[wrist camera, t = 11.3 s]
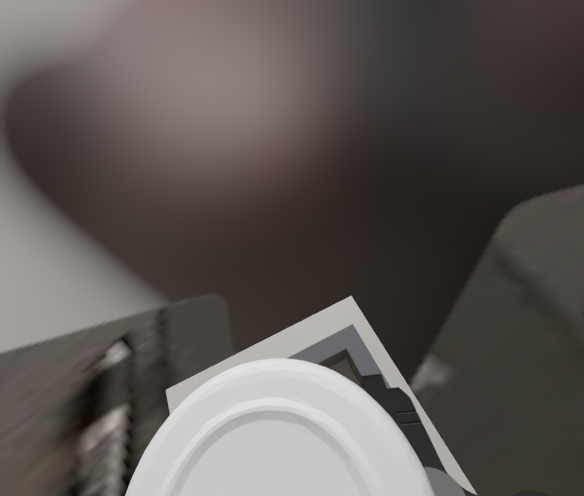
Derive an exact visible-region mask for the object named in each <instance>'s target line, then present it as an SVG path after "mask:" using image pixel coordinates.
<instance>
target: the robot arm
mask: <svg viewBox="0 0 584 496" xmlns="http://www.w3.org/2000/svg"><path fill="white" fill-rule="evenodd" d="M361 381H362V389H363V390H364V391H366V392H367V393H368V394H369V395H370V396H371V397H372V398H373V399H374V400H375V401H376V402H377V403H378V404H379V405H380V406H381V407H382V408H383V409H384V410H385V411H386V412H387V413H388V414H389V415H390V416H391V418H392V419H393V420H394V422H395V423H396V424H397V426H398V427H399V428H400V430H401V431H402V432H403V434H404V435H405V437H406V438H407V440H408V442H409V443H410V445H411V446H412V448H413V449H414V451H415V453H416V455H417V457H418V458H419V460H420V462H421V464H422V466H423V468H424V470H425V472H426V475H427V477H428V479H429V481H430V484H431V486H432V489H433V492H434V494H435V496H478V495H476V494H473V493H471V492H469V491H468V490H466V489H464V488H463V487H461V486H460V485H459V484H458V483H457V482H456V481H455V480H454V479H453V478H452V477H451V476H449V474H448V473H447V472H446V470H445V468H444V466H443V464H442V462H441V460H440V458H439V456H438V454H437V452H436V450H435V448H434V446H433V444H432V442H431V440H430V437H429V435H428V433H427V431H426V429H425V427H424V425H423V424H422V421H421V419H420V417H419V415H418V413H417V412H416V409H415V406H414V404H413V402H412V400H411V398H410V397H409V396H408V395H407V394H406V393H405V392H404V391H403V390H401V389H400V388H399V387H396V388H387V387H386V385H385V382H384V380H383V377H382V375H381V374H373V375H364V376H361ZM513 496H549V495H546V494H543V493H540V492H536V491H521V492H518V493H516V494H515V495H513Z"/></svg>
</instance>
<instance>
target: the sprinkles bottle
mask: <svg viewBox="0 0 584 496" xmlns="http://www.w3.org/2000/svg"><path fill="white" fill-rule="evenodd" d="M125 496H435V494H434V492H433V489H432V486H431V484H430V481H429V479H428V477H427V475H426V472H425V470H424V468H423V466H422V464H421V462H420V460H419V458H418V457H417V455H416V453H415V451H414V449H413V448H412V446H411V445H410V443H409V442H408V440H407V438H406V437H405V435H404V434H403V432H402V431H401V430H400V428H399V427H398V426H397V424H396V423H395V422H394V420H393V419H392V418H391V416H390V415H389V414H388V413H387V412H386V411H385V410H384V409H383V408H382V407H381V406H380V405H379V404H378V403H377V402H376V401H375V400H374V399H373V398H372V397H371V396H370V395H369V394H368V393H367V392H366V391H364V390H363V389H362V388H361V387H359V386H358V385H357V384H355V383H354V382H352V381H351V380H349V379H347V378H346V377H344V376H342V375H341V374H339V373H337V372H335V371H333V370H331V369H329V368H327V367H324V366H321V365H318V364H314V363H311V362H307V361H303V360H297V359H286V358H272V359H263V360H256V361H252V362H248V363H244V364H241V365H238V366H235V367H233V368H230V369H228V370H226V371H224V372H222V373H220V374H219V375H217V376H215V377H213V378H212V379H210V380H208V381H207V382H205V383H204V384H203V385H201V386H200V387H199V388H197V389H196V390H195V391H193V392H192V393H191V394H190V395H189V396H188V397H187V398H186V399H185V400H184V401H183V402H182V403H181V404H180V405H179V406H178V407H177V408H176V409H175V410H174V411H173V412H172V413H171V414H170V416H169V417H168V418H167V420H166V421H165V422H164V423H163V425H162V426H161V427H160V429H159V430H158V431H157V433H156V434H155V436H154V437H153V439H152V441H151V442H150V444H149V445H148V447H147V448H146V450H145V452H144V454H143V456H142V458H141V460H140V462H139V464H138V466H137V468H136V470H135V472H134V474H133V476H132V479H131V482H130V484H129V487H128V489H127V492H126V495H125Z"/></svg>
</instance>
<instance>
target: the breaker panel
mask: <svg viewBox="0 0 584 496" xmlns="http://www.w3.org/2000/svg"><path fill="white" fill-rule="evenodd" d="M272 358H286V359H297V360H303V361H307V362H311V363H314V364H318V365H321V366H324V367H327V368H329V369H331V370H333V371H335V372H337V373H339V374H341V375H342V376H344V377H346V378H347V379H349V380H351V381H352V382H354V383H355V384H357V385H358V386H359V387H361V388H362V381H361V376H364V375H373V374H381V375H382V377H383V380H384V382H385V385H386V387H387V388H396V387H399V388H400V389H401V390H403V391H404V392H405V393H406V394H407V395H408V396H409V397H410V398H411V400H412V402H413V404H414V406H415V409H416V412H417V413H418V415H419V417H420V419H421V421H422V424H423V425H424V427H425V429H426V431H427V433H428V435H429V437H430V440H431V442H432V444H433V446H434V448H435V450H436V452H437V454H438V456H439V458H440V460H441V462H442V464H443V466H444V468H445V470H446V472H447V473H448V474H449V476H451V477H452V478H453V479H454V480H455V481H456V482H457V483H458V484H459V485H460V486H461V487H463V488H464V489H466V490H468V491H469V492H471V493H473V494H476V492H475V491H474V489H473V487H472V486H471V484H470V483H469V481H468V480H467V478H466V476H465V475H464V473H463V472H462V470H461V468H460V467H459V465H458V464H457V462H456V461H455V459H454V457H453V456H452V454H451V453H450V451H449V449H448V448H447V446H446V445H445V443H444V442H443V440H442V438H441V437H440V435H439V434H438V432H437V431H436V429H435V427H434V426H433V424H432V423H431V421H430V419H429V418H428V416H427V415H426V413H425V412H424V410H423V408H422V407H421V405H420V404H419V402H418V401H417V399H416V397H415V396H414V394H413V393H412V391H411V389H410V388H409V386H408V385H407V383H406V382H405V380H404V378H403V377H402V375H401V374H400V372H399V371H398V369H397V367H396V366H395V364H394V363H393V361H392V359H391V358H390V356H389V355H388V353H387V352H386V350H385V348H384V347H383V345H382V344H381V342H380V340H379V339H378V337H377V336H376V334H375V333H374V331H373V329H372V328H371V326H370V325H369V323H368V322H367V320H366V318H365V317H364V315H363V314H362V312H361V310H360V309H359V307H358V306H357V304H356V303H355V301H354V299H353V298H352V296H350V297H348V298H346V299H344V300H342V301H340V302H338V303H336V304H334V305H332V306H330V307H328V308H326V309H324V310H323V311H320V312H318V313H317V314H314V315H313V316H311V317H309V318H307V319H305V320H303V321H301V322H299V323H297V324H295V325H293V326H291V327H289V328H287V329H285V330H283V331H281V332H279V333H277V334H275V335H273V336H271V337H269V338H267V339H265V340H263V341H261V342H259V343H257V344H255V345H253V346H251V347H250V348H248V349H246V350H244V351H242V352H240V353H238V354H236V355H234V356H232V357H230V358H228V359H226V360H224V361H222V362H220V363H218V364H216V365H214V366H212V367H210V368H208V369H206V370H204V371H202V372H200V373H198V374H196V375H194V376H192V377H190V378H188V379H187V380H185V381H183V382H181V383H179V384H177V385H175V386H173V387H171V388H169V389H167V390H166V394H167V400H168V405H169V411H170V414H171V413H172V412H173V411H174V410H175V409H176V408H177V407H178V406H179V405H180V404H181V403H182V402H183V401H184V400H185V399H186V398H187V397H188V396H189V395H190V394H191V393H192V392H193V391H195V390H196V389H197V388H199V387H200V386H201V385H203V384H204V383H205V382H207V381H208V380H210V379H212V378H213V377H215V376H217V375H219V374H220V373H222V372H224V371H226V370H228V369H230V368H233V367H235V366H238V365H241V364H244V363H248V362H252V361H256V360H263V359H272ZM476 495H477V494H476Z"/></svg>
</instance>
